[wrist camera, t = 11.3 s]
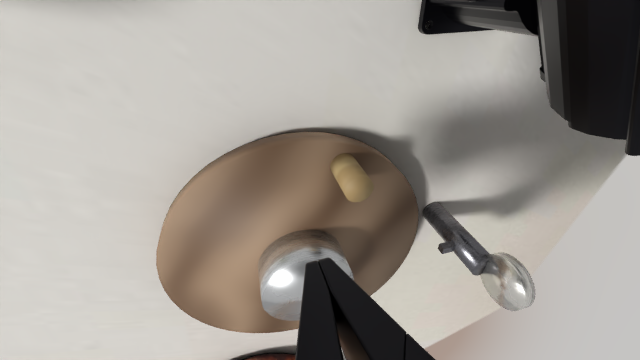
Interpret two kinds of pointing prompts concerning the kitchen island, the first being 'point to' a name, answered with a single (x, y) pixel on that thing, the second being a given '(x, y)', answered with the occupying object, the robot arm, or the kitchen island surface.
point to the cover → (293, 269)
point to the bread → (273, 357)
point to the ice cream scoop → (483, 261)
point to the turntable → (281, 222)
